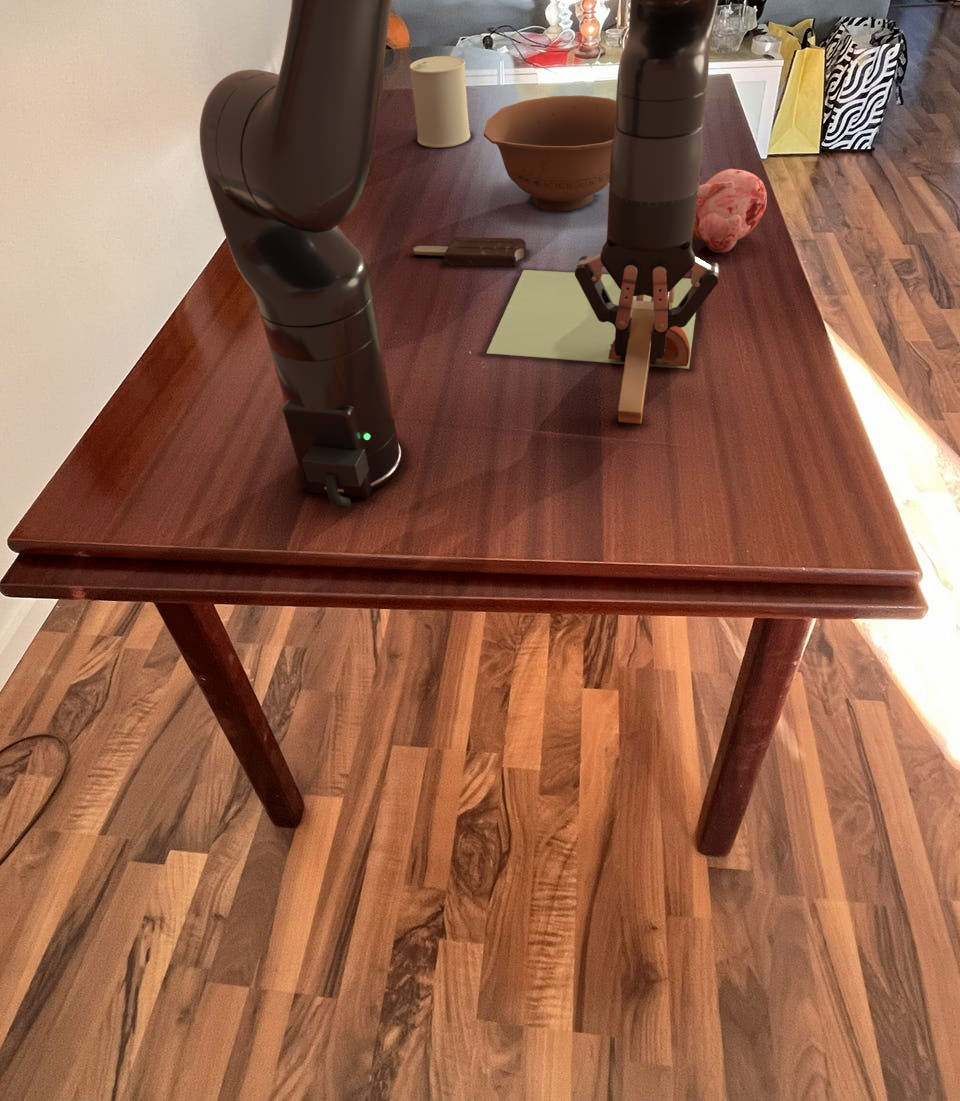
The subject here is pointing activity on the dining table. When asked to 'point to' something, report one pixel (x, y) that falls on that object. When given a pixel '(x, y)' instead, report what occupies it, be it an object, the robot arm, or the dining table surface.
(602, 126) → the bowl
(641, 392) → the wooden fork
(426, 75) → the can
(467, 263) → the ice cream bar
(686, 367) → the placemat
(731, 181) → the ice cream
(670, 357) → the fruit slice
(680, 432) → the dining table surface
